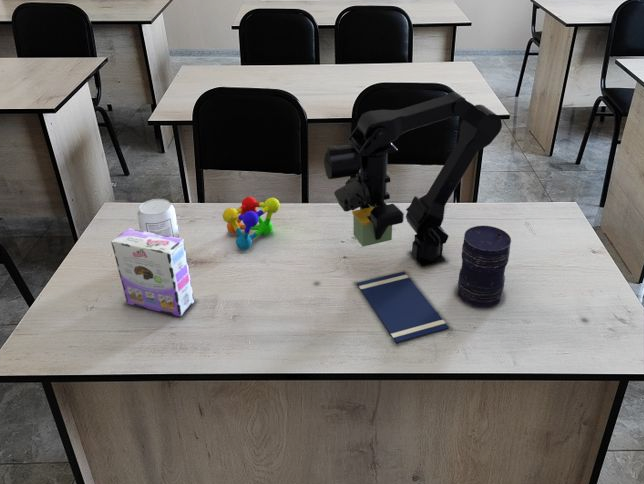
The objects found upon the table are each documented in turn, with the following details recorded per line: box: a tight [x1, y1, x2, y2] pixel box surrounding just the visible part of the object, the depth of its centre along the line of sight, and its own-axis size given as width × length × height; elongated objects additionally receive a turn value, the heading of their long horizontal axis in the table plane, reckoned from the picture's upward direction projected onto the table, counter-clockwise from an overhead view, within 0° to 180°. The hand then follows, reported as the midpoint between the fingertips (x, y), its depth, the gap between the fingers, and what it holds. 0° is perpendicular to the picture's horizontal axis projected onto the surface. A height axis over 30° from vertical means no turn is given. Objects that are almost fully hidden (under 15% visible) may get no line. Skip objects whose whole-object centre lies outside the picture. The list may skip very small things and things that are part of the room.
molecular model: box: [222, 196, 281, 251], centre depth 148 cm, size 15×12×15 cm
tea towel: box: [356, 271, 450, 344], centre depth 130 cm, size 12×21×1 cm, turn 22°
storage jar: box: [457, 225, 512, 309], centre depth 130 cm, size 10×10×15 cm
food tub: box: [351, 207, 393, 248], centre depth 136 cm, size 8×6×6 cm
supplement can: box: [136, 198, 181, 239], centre depth 141 cm, size 8×8×15 cm
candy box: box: [110, 228, 195, 317], centre depth 127 cm, size 14×6×16 cm, turn 71°
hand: (372, 232), depth 137 cm, fingers closed on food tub, 5 cm apart
